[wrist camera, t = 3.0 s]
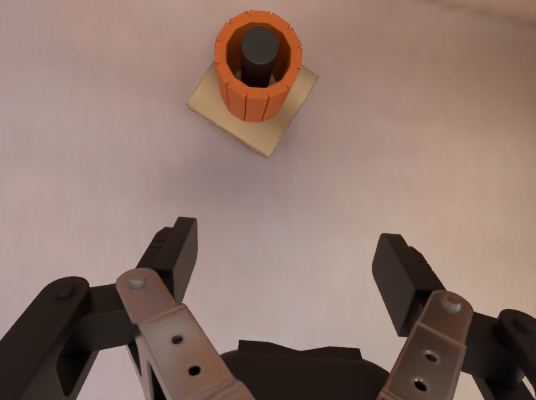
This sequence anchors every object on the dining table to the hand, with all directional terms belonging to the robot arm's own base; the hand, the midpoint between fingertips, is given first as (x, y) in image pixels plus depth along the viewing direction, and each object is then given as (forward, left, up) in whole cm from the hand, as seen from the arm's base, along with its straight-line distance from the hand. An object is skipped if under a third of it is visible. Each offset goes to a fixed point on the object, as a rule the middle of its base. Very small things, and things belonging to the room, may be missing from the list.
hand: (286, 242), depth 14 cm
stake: (-10, -7, -18) cm, 22 cm away
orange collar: (-10, -7, -17) cm, 20 cm away
